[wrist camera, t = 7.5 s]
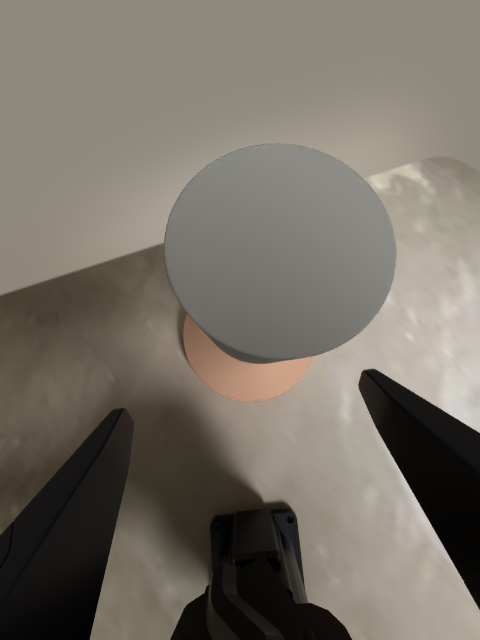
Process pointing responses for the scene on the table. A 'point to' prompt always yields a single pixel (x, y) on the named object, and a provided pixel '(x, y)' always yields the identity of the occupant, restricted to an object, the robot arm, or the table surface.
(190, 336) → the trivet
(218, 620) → the robot arm
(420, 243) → the table surface
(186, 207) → the container
